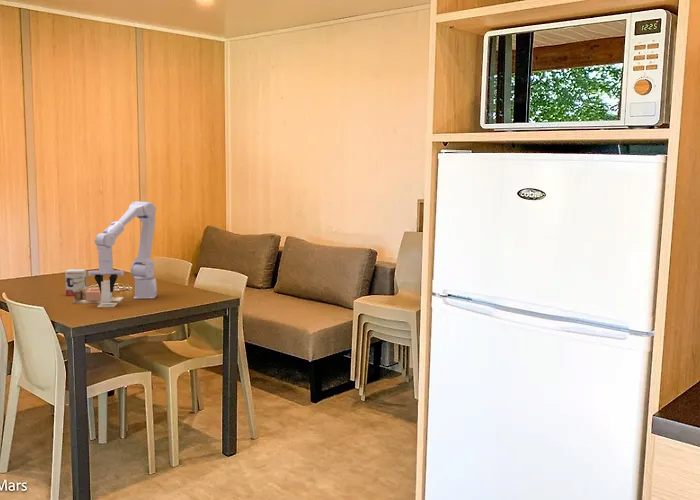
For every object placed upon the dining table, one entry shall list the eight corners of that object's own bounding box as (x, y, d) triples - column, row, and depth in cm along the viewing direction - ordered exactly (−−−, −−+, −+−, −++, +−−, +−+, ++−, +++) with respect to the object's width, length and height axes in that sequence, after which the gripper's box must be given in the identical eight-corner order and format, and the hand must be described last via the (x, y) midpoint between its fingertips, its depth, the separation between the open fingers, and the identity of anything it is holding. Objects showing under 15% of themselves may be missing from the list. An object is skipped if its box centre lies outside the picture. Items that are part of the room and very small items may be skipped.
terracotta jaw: (104, 296, 298) (104, 288, 297) (100, 300, 290) (99, 291, 290) (90, 297, 297) (90, 288, 297) (85, 300, 289) (85, 291, 289)
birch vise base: (123, 299, 299) (123, 286, 298) (119, 302, 291) (119, 289, 290) (77, 299, 297) (77, 286, 296) (72, 303, 289) (71, 290, 288)
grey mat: (117, 303, 290) (117, 302, 290) (113, 307, 283) (113, 306, 283) (101, 303, 289) (101, 303, 289) (96, 307, 282) (96, 306, 282)
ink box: (65, 296, 305) (64, 271, 303) (67, 294, 310) (66, 269, 308) (85, 295, 307) (84, 270, 305) (87, 293, 311) (86, 268, 310)
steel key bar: (112, 300, 288) (111, 280, 286) (110, 302, 284) (109, 281, 283) (103, 300, 287) (103, 280, 286) (101, 302, 284) (101, 281, 282)
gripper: (85, 262, 278) (86, 293, 280) (120, 262, 280) (122, 293, 282) (90, 260, 285) (91, 290, 287) (124, 259, 287) (125, 290, 289)
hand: (106, 292), depth 285 cm, fingers closed on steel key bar, 4 cm apart
